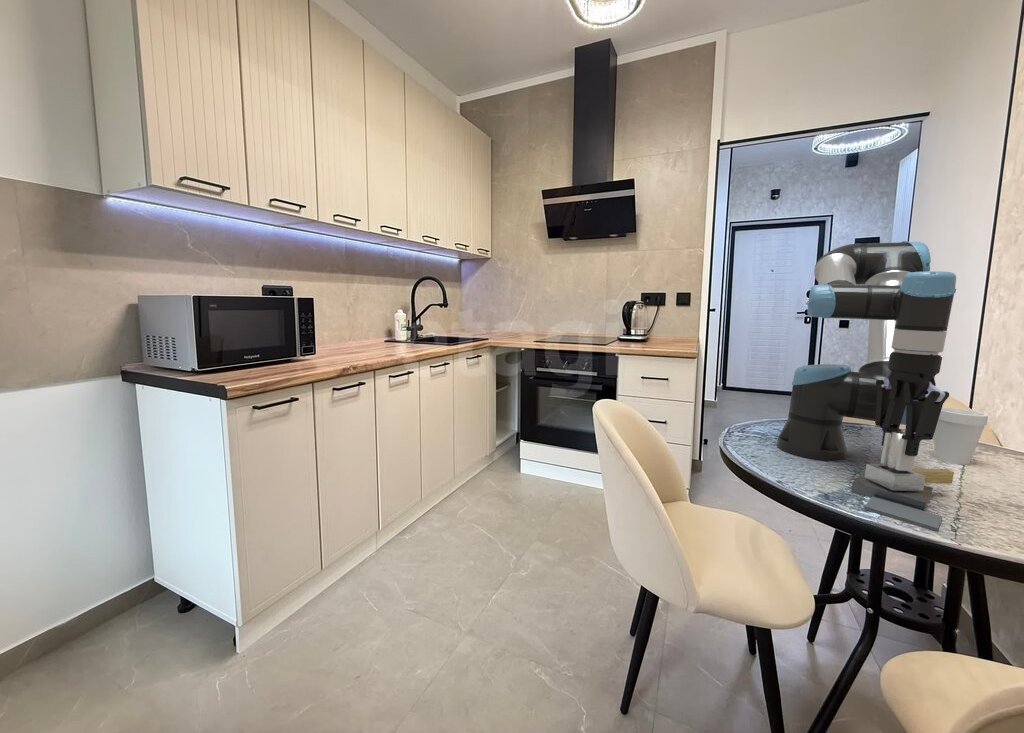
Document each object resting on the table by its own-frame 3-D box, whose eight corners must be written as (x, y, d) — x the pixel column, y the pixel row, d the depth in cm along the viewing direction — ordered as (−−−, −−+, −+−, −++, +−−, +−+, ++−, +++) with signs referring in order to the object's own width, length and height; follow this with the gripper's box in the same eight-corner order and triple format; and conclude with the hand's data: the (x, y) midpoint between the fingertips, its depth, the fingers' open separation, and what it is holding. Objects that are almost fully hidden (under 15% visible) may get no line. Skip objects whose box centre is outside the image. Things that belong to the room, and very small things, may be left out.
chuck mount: (851, 491, 89) (852, 482, 88) (863, 479, 96) (864, 470, 95) (923, 512, 80) (925, 502, 80) (931, 496, 87) (932, 487, 87)
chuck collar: (892, 490, 84) (895, 475, 84) (864, 477, 91) (866, 463, 90) (964, 491, 85) (967, 476, 85) (931, 478, 92) (933, 464, 91)
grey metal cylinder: (881, 483, 88) (890, 432, 86) (884, 480, 90) (893, 429, 88) (900, 489, 86) (910, 436, 84) (903, 485, 87) (913, 433, 86)
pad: (863, 509, 81) (864, 506, 81) (871, 499, 85) (872, 496, 85) (937, 531, 73) (938, 528, 73) (941, 519, 78) (942, 516, 78)
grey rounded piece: (924, 451, 117) (933, 405, 115) (973, 460, 111) (983, 411, 110) (928, 460, 110) (937, 411, 108) (981, 470, 104) (991, 418, 102)
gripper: (978, 358, 76) (953, 483, 79) (898, 348, 92) (880, 453, 95) (937, 356, 76) (914, 482, 79) (863, 347, 91) (847, 452, 95)
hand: (895, 466), depth 87 cm, fingers closed on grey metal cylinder, 3 cm apart
